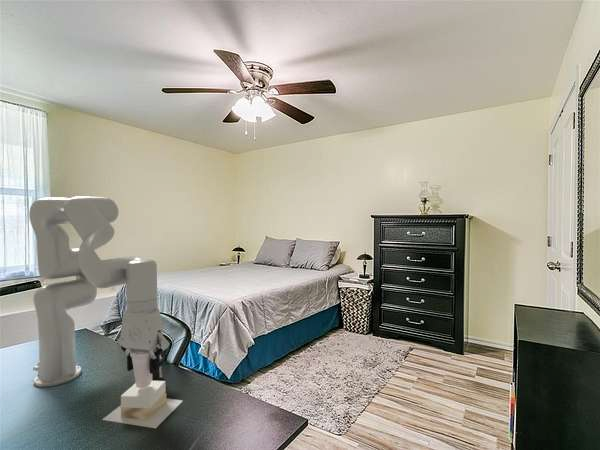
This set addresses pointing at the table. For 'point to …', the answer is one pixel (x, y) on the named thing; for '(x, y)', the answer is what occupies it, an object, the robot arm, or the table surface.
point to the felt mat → (151, 423)
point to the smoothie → (141, 367)
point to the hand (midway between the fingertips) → (143, 369)
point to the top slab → (143, 395)
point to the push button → (158, 372)
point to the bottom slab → (143, 410)
